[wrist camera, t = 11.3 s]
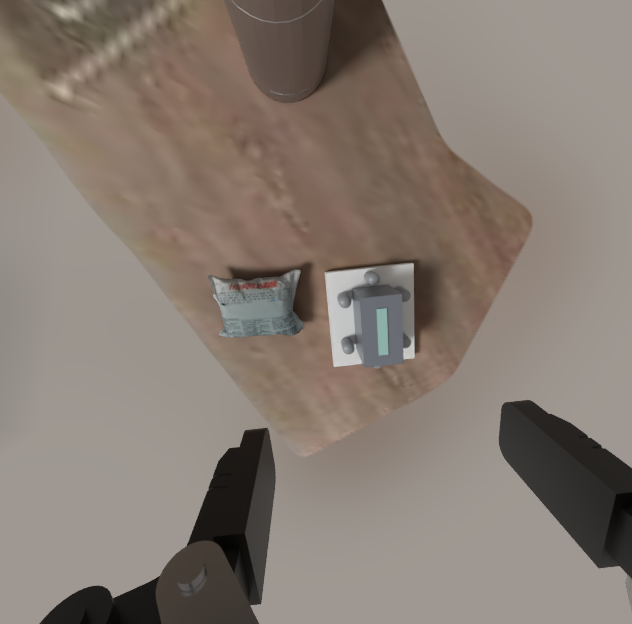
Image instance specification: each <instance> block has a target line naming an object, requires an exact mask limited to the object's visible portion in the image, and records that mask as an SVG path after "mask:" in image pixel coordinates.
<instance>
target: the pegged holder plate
mask: <svg viewBox="0 0 632 624" xmlns="http://www.w3.org/2000/svg"><path fill="white" fill-rule="evenodd" d="M325 281H326V292H327V303H328V313H329V324H330V334H331V345H332V356H333V365H334V367H337V366H347V365H356V364H362V361H361V359H360V356H359V354H358V352H357V349H356V338H355V324H354V310H353V296H352V288H359V287H368V286H377V285H386V284H389V285H390V286H391V287H393V288H394V289H396V290H397V291H399V292H400V293H402V313H403V358H404V359H411V358H415V356H414V263H411V262H410V263H401V264H391V265H382V266H373V267H364V268H354V269H345V270H336V271H326V272H325ZM381 367H382V366H374V368H377V369H378V368H381Z"/></svg>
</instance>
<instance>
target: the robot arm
mask: <svg viewBox="0 0 632 624" xmlns="http://www.w3.org/2000/svg"><path fill="white" fill-rule="evenodd" d="M224 2H225V5H226V8H227V11H228V13H229V16H230V19H231V22H232V24H233V27H234V30H235V33H236V36H237V38H238V41H239V44H240V47H241V50H242V52H243V55H244V58H245V61H246V64H247V66H248V69H249V72H250V74H251V76H252V78H253V80H254V82H255V84H256V85H257V86H258V87H259V89H260V90H261V91H262V92H263V93H265V94H266V95H267V96H268V97H270V98H272V99H274V100H276V101H280V102H290V103H292V102H296V101H300V100H302V99H304V98H306V97H308V96H309V95H310V94H311V93H312V92H314V90H315V89H316V88H317V87H318V85H319V84H320V82H321V80H322V78H323V76H324V72H325V68H326V63H327V55H328V48H329V41H330V33H331V25H332V18H333V10H334V2H335V0H224ZM499 446H500V450H501V452H502V454H503V456H504V458H505V460H506V461H507V462H508V463H509V464H510V466H511V467H512V468H513V469H514V470H515V471H516V472H517V474H518V475H519V476H520V477H521V478H522V480H523V481H524V482H525V483H526V484H527V485H528V487H529V488H530V489H531V490H532V491H533V492H534V494H535V495H536V496H537V497H538V498H539V499H540V501H541V502H542V503H543V504H544V505H545V506H546V507H547V509H548V510H549V511H550V512H551V513H552V514H553V516H554V517H555V518H556V519H557V520H558V521H559V523H560V524H561V525H562V526H563V527H564V528H565V530H566V531H567V532H568V533H569V534H570V535H571V537H572V538H573V539H574V540H575V541H576V542H577V544H578V545H579V546H580V547H581V548H582V549H583V551H584V552H585V553H586V554H587V555H588V556H589V557H590V559H591V560H592V561H593V562H594V563H595V564H596V566H597V567H598V568H605V567H614V566H620V567H621V568H622V569H623V570H624V571H625V572H626V573H627V578H626V588H627V592H628V597H629V601H630V605H631V610H632V468H631V467H629V466H628V465H627V464H625V463H624V462H623V461H621V460H620V459H619V458H617V457H616V456H615V455H613V454H612V453H610V452H609V451H608V450H606V449H603V448H602V447H601V445H600V444H598V443H597V442H595V441H594V440H593V439H592V438H588V436H587V435H586V434H585V433H583V432H582V431H581V430H579V429H578V428H577V427H575V426H574V425H572V424H571V423H569V422H567V421H565V420H563V419H561V418H559V417H556V416H554V415H552V414H548V413H547V412H546V411H544V410H543V409H542V408H540V407H539V406H538V405H536V404H535V403H534V402H532V401H530V400H524V401H515V402H506V403H504V404H503V406H502V409H501V421H500V433H499ZM274 490H275V464H274V458H273V453H272V446H271V440H270V435H269V430H268V428H263V429H253V430H246V431H245V432H244V435H243V438H242V441H241V444H240V447H237V448H229V449H228V451H227V452H226V453H225V454H224V455H223V457H222V458H221V459H220V460H219V461H218V464H217V467H216V470H215V472H214V475H213V479H212V480H211V483H210V486H209V491H207V494H206V497H205V499H204V502H203V505H202V507H201V510H200V513H199V515H198V518H197V520H196V523H195V526H194V529H193V531H192V534H191V537H190V540H189V542H188V544H187V546H186V547H185V548H183V549H182V550H181V551H179V552H178V553H177V554H176V555H175V556H174V557H173V558H172V559H171V560H170V561H169V562H168V564H167V565H166V566H165V568H164V569H163V571H162V573H161V575H160V576H159V577H157V578H156V579H154V580H152V581H150V582H148V583H146V584H144V585H142V586H139V587H137V588H135V589H133V590H131V591H129V592H126V593H124V594H122V595H120V596H117V597H115V598H112V596H111V593H110V591H109V590H108V589H107V588H104V587H103V586H91V587H88V588H84V589H82V590H80V591H78V592H76V593H74V594H72V595H71V596H69V597H68V598H66V599H65V600H63V601H62V602H61V603H60V604H58V605H57V606H56V607H55V608H54V609H53V610H52V611H51V612H50V613H49V614H48V615H47V616H46V617H45V618H44V619H43V620H42V621H41V623H40V624H259V623H258V621H257V619H256V617H255V615H254V613H253V611H252V609H251V607H250V605H257V604H261V600H262V591H263V584H264V575H265V567H266V566H265V565H266V558H267V549H268V541H269V532H270V524H271V515H272V507H273V499H274Z"/></svg>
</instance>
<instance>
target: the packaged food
mask: <svg viewBox="0 0 632 624" xmlns="http://www.w3.org/2000/svg"><path fill="white" fill-rule="evenodd" d="M300 274H301V270H298V269H295V270H294V269H293V270H292V271H290V272H288V273H286V274H284V275H282V276H280V277H264V278H256V279H252V280H249V281H246V280H243V279H223V278H218V277H215V276H212V275H210V276H208V278H209V281H210V283H211V285H212V288H213V290H214V292H215V294H214V295H213V296H214V298H215V299H216V301H217V302H218V304H219V306H220V309H221V312H222V319H223V323H224V326H225V327H224V328H223V329H222V331H221V332H220V333H219V335H220V336H222V337H246V336H258V335H275V334H283V335H290V336H291V335H295V334H297V333H299V332H300V330H301V329H303V328H304V324H303V321H301V320H300V319H299V318H298V316H297V315H296V314H295V312H294V310H293V302H294V297H295V293H296V288H297V284H298V280H299V278H300ZM214 287H215V288H214Z"/></svg>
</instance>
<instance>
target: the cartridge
mask: <svg viewBox="0 0 632 624" xmlns="http://www.w3.org/2000/svg"><path fill="white" fill-rule="evenodd" d="M352 296H353V310H354V324H355V338H356V349H357V352H358V354H359V356H360V359H361V361H362V364H363V366H364V368H365V367H374V366H383V365H393V364H402V363H404V358H403V313H402V293H400V292H399V291H397V290H396V289H394V288H393V287H391V286H390V285H389V284H386V285H377V286H368V287H359V288H352Z"/></svg>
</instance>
